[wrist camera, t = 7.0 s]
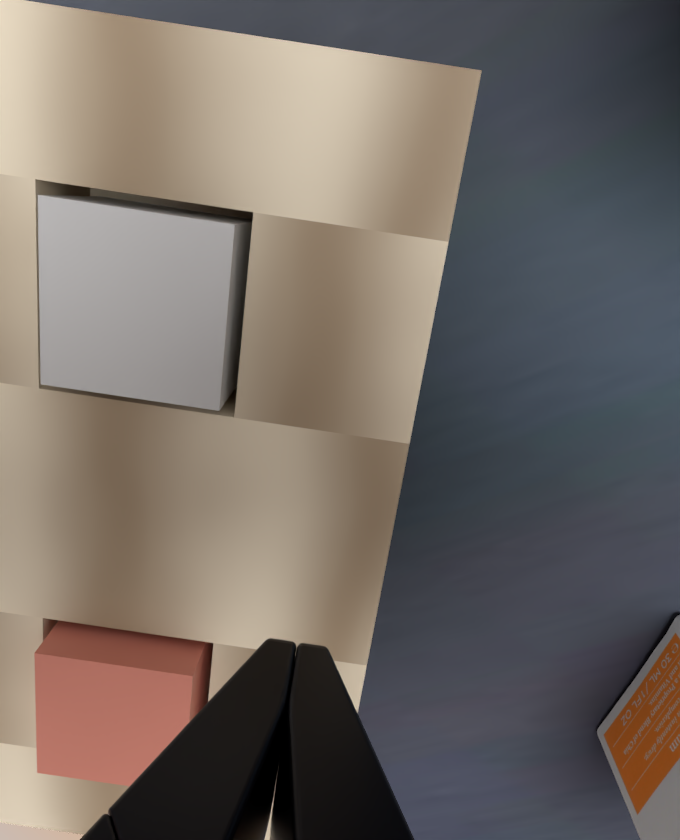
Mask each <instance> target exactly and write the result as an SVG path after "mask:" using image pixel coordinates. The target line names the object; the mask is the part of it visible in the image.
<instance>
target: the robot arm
mask: <svg viewBox="0 0 680 840" xmlns="http://www.w3.org/2000/svg"><path fill="white" fill-rule="evenodd" d="M295 655H296V656H295ZM277 772H278V773H277ZM276 779H277V780H276ZM275 785H276V787H275ZM274 791H275V793H274ZM273 798H274V800H273ZM272 803H273V808H272ZM271 809H272V816H271V828H270V840H414V838H413V835H412V833H411V831H410V829H409V827H408V824H407V822H406V820H405V818H404V815H403V813H402V811H401V809H400V807H399V804H398V802H397V800H396V798H395V796H394V793H393V791H392V789H391V787H390V784H389V782H388V780H387V778H386V776H385V773H384V771H383V769H382V767H381V764H380V762H379V760H378V758H377V756H376V753H375V751H374V749H373V747H372V745H371V742H370V740H369V738H368V736H367V733H366V731H365V729H364V727H363V725H362V722H361V720H360V718H359V716H358V714H357V711H356V709H355V707H354V705H353V702H352V700H351V698H350V696H349V694H348V691H347V689H346V687H345V685H344V682H343V680H342V678H341V676H340V674H339V671H338V669H337V667H336V665H335V663H334V660H333V658H332V656H331V654H330V652H329V650H328V648H327V647H325V646H321V645H315V644H308V643H300V644H299V645H298V646H297V650H296V643H294V642H293V641H288V640H281V639H274V638H269V639H267V640H265V641H264V642H263V643H262V644H261V646H260V647H259V648H258V649H257V650H256V651H255V652H254V653H253V654H252V655H251V656H250V657H249V658H248V660H247V661H246V662H245V663H244V664H243V665H242V666H241V667H240V668H239V669H238V670H237V671H236V672H235V674H234V675H233V676H232V677H231V678H230V679H229V680H228V681H227V682H226V683H225V684H224V685H223V686H222V687H221V689H220V690H219V691H218V692H217V693H216V694H215V695H214V696H213V697H212V698H211V699H210V700H209V701H208V703H207V704H206V705H205V706H204V707H203V708H202V709H201V710H200V711H199V712H198V713H197V714H196V715H195V717H194V718H193V719H192V720H191V721H190V722H189V723H188V724H187V725H186V726H185V727H184V728H183V729H182V731H181V732H180V733H179V734H178V735H177V736H176V737H175V738H174V739H173V740H172V741H171V742H170V743H169V744H168V746H167V747H166V748H165V749H164V750H163V751H162V752H161V753H160V754H159V755H158V756H157V757H156V758H155V760H154V761H153V762H152V763H151V764H150V765H149V766H148V767H147V768H146V769H145V770H144V771H143V772H142V774H141V775H140V776H139V777H138V778H137V779H136V780H135V781H134V782H133V783H132V784H131V785H130V786H129V788H128V789H127V790H126V791H125V792H124V793H123V794H122V795H121V796H120V797H119V798H118V799H117V800H116V801H115V803H114V804H113V805H112V806H111V807H110V808H109V810H108V814H103V815H102V816H101V817H100V818H99V819H98V820H97V821H96V823H95V824H94V825H93V826H92V827H91V828H90V829H89V830H88V831H87V832H86V833H85V834H84V836H83V837H82V838H81V839H80V840H264V839H265V835H266V831H267V827H268V823H269V819H270V814H271Z"/></svg>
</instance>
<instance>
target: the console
mask: <svg viewBox="0 0 680 840" xmlns="http://www.w3.org/2000/svg"><path fill="white" fill-rule="evenodd" d="M481 71H482V70H475V69H468V68H462V67H455V66H449V65H442V64H436V63H429V62H423V61H416V60H410V59H403V58H397V57H390V56H384V55H377V54H371V53H364V52H358V51H351V50H344V49H338V48H331V47H325V46H318V45H312V44H305V43H299V42H292V41H286V40H279V39H273V38H266V37H260V36H253V35H247V34H240V33H233V32H227V31H220V30H214V29H207V28H201V27H194V26H188V25H181V24H175V23H168V22H162V21H155V20H149V19H142V18H136V17H129V16H123V15H116V14H109V13H103V12H96V11H90V10H83V9H77V8H70V7H64V6H57V5H51V4H44V3H38V2H31V1H25V0H0V823H7V824H15V825H21V826H28V827H35V828H42V829H49V830H56V831H63V832H70V833H76V834H85V833H86V832H87V831H88V830H89V829H90V828H91V827H92V826H93V825H94V824H95V823H96V821H97V820H98V819H99V818H100V817H101V816H102V815H103V814H108V810H109V808H110V807H111V806H112V805H113V804H114V803H115V801H116V800H117V799H118V798H119V797H120V796H121V795H122V794H123V793H124V792H125V791H126V790H127V789H128V788H129V786H124V785H117V784H110V783H103V782H96V781H90V780H83V779H76V778H69V777H62V776H55V775H48V774H41V773H37V748H36V703H35V658H34V653H35V652H36V650H37V649H38V648H39V646H40V645H41V644H42V642H43V641H44V639H45V638H46V637H47V635H48V634H49V633H50V631H51V630H52V629H53V627H54V626H55V625H56V623H57V622H58V621H59V620H60V621H66V622H73V623H80V624H87V625H94V626H101V627H107V628H114V629H121V630H128V631H135V632H141V633H148V634H155V635H162V636H169V637H175V638H182V639H189V640H196V641H203V642H210V643H213V653H212V664H211V675H210V686H209V697H208V701H209V700H210V699H211V698H212V697H213V696H214V695H215V694H216V693H217V692H218V691H219V690H220V689H221V687H222V686H223V685H224V684H225V683H226V682H227V681H228V680H229V679H230V678H231V677H232V676H233V675H234V674H235V672H236V671H237V670H238V669H239V668H240V667H241V666H242V665H243V664H244V663H245V662H246V661H247V660H248V658H249V657H250V656H251V655H252V654H253V653H254V652H255V651H256V650H257V649H258V648H259V647H260V646H261V644H262V643H263V642H264V641H265V640H267V639H269V638H274V639H281V640H288V641H293V642H294V643H296V650H297V646H298V645H299V644H300V643H308V644H315V645H321V646H325V647H327V648H328V650H329V652H330V654H331V656H332V658H333V660H334V663H335V665H336V667H337V669H338V671H339V674H340V676H341V678H342V680H343V682H344V685H345V687H346V689H347V691H348V694H349V696H350V698H351V700H352V702H353V705H354V707H355V709H356V711H357V713H358V708H359V703H360V698H361V693H362V687H363V682H364V677H365V672H366V667H367V661H368V656H369V651H370V646H371V641H372V636H373V630H374V625H375V620H376V615H377V610H378V604H379V599H380V594H381V589H382V584H383V579H384V573H385V568H386V563H387V558H388V553H389V548H390V542H391V537H392V532H393V527H394V522H395V516H396V511H397V506H398V501H399V496H400V491H401V485H402V480H403V475H404V470H405V465H406V460H407V454H408V449H409V444H410V439H411V434H412V428H413V423H414V418H415V413H416V408H417V403H418V397H419V392H420V387H421V382H422V377H423V372H424V366H425V361H426V356H427V351H428V346H429V340H430V335H431V330H432V325H433V320H434V315H435V309H436V304H437V299H438V294H439V289H440V283H441V278H442V273H443V268H444V263H445V258H446V252H447V247H448V242H449V237H450V232H451V227H452V221H453V216H454V211H455V206H456V201H457V195H458V190H459V185H460V180H461V175H462V170H463V164H464V159H465V154H466V149H467V144H468V139H469V133H470V128H471V123H472V118H473V113H474V107H475V102H476V97H477V92H478V87H479V82H480V76H481ZM38 195H63V196H102V197H108V198H115V199H122V200H128V201H135V202H141V203H148V204H155V205H161V206H168V207H174V208H181V209H188V210H194V211H201V212H207V213H214V214H221V215H227V216H234V217H240V218H247V219H253V220H252V231H251V242H250V253H249V264H248V274H247V285H246V296H245V307H244V318H243V328H242V339H241V350H240V361H239V372H238V383H237V387H236V388H235V389H234V391H233V392H232V394H231V395H230V396H229V398H228V399H227V401H226V402H225V403H224V405H223V406H222V408H221V409H220V410H219V411H216V410H209V409H203V408H196V407H189V406H183V405H176V404H169V403H162V402H156V401H149V400H142V399H136V398H129V397H122V396H116V395H109V394H102V393H95V392H89V391H82V390H75V389H69V388H62V387H55V386H49V385H42V384H41V372H40V308H39V244H38ZM295 656H296V655H295ZM277 773H278V772H277ZM276 780H277V779H276ZM275 787H276V785H275ZM274 793H275V791H274ZM273 800H274V798H273ZM272 808H273V803H272ZM271 816H272V809H271V814H270V819H269V823H268V827H267V831H266V835H265V839H264V840H270V828H271Z"/></svg>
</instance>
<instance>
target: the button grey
mask: <svg viewBox="0 0 680 840" xmlns="http://www.w3.org/2000/svg"><path fill="white" fill-rule="evenodd" d="M252 220H253V219H247V218H240V217H234V216H227V215H221V214H214V213H207V212H201V211H194V210H188V209H181V208H174V207H168V206H161V205H155V204H148V203H141V202H135V201H128V200H122V199H115V198H108V197H102V196H63V195H38V244H39V308H40V372H41V384H42V385H49V386H55V387H62V388H69V389H75V390H82V391H89V392H95V393H102V394H109V395H116V396H122V397H129V398H136V399H142V400H149V401H156V402H162V403H169V404H176V405H183V406H189V407H196V408H203V409H209V410H216V411H219V410H220V409H221V408H222V406H223V405H224V403H225V402H226V401H227V399H228V398H229V396H230V395H231V394H232V392H233V391H234V389H235V388H236V387H237V383H238V372H239V361H240V350H241V339H242V328H243V318H244V307H245V296H246V285H247V274H248V264H249V253H250V242H251V231H252Z"/></svg>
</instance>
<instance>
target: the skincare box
mask: <svg viewBox="0 0 680 840" xmlns="http://www.w3.org/2000/svg"><path fill="white" fill-rule="evenodd" d="M597 735H598V738H599V740H600V742H601V745H602V747H603V750H604V752H605V755H606V757H607V759H608V762H609V764H610V767H611V769H612V771H613V774H614V776H615V779H616V781H617V784H618V786H619V789H620V791H621V793H622V796H623V798H624V801H625V803H626V805H627V808H628V810H629V813H630V815H631V818H632V820H633V823H634V825H635V827H636V830H637V832H638V835H639V837H640V839H641V840H680V614H679V615H677V617H676V618H675V619H674V621H673V623H672V624H671V626H670V628H669V630H668V631H667V633H666V634H665V636H664V637H663V639H662V640H661V641H660V643H659V644H658V646H657V647H656V648H655V650H654V651H653V653H652V654H651V656H650V657H649V659H648V660H647V662H646V663H645V664H644V666H643V667H642V669H641V670H640V672H639V673H638V675H637V676H636V678H635V679H634V680H633V682H632V683H631V684H630V686H629V687H628V688H627V690H626V691H625V693H624V694H623V695H622V697H621V698H620V699H619V701H618V702H617V703H616V705H615V706H614V708H613V709H612V710H611V712H610V713H609V714H608V716H607V717H606V718H605V720H604V721H603V722H602V724H601V725H600V726H599V728H598V730H597Z"/></svg>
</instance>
